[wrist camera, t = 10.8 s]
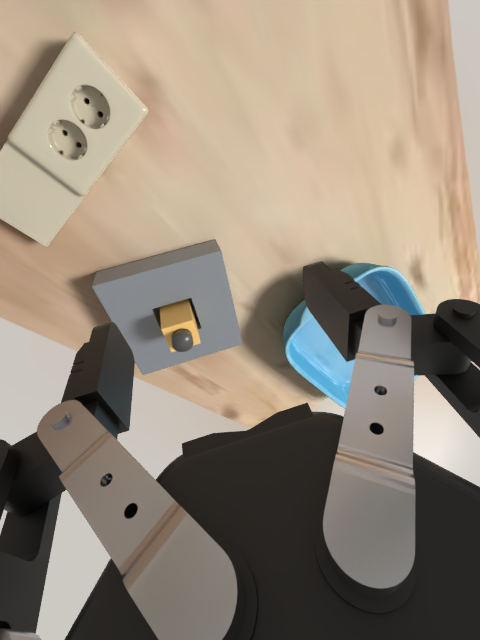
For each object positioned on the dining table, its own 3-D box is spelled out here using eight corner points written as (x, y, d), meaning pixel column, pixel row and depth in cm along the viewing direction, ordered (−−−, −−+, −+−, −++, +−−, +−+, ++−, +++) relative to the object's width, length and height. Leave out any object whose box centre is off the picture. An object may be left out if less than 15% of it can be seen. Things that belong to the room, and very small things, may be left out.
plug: (186, 292, 42) (194, 327, 35) (194, 314, 44) (202, 350, 37) (159, 300, 41) (161, 336, 35) (168, 321, 44) (172, 360, 37)
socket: (215, 239, 39) (221, 250, 36) (236, 328, 49) (242, 343, 46) (96, 271, 38) (91, 286, 35) (143, 357, 48) (142, 375, 44)
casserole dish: (425, 339, 65) (452, 361, 59) (343, 398, 70) (361, 423, 64) (357, 221, 44) (388, 238, 38) (247, 318, 49) (260, 345, 43)
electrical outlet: (-36, 202, 27) (73, 27, 23) (-16, 192, 31) (82, 37, 26) (44, 250, 32) (149, 110, 27) (53, 237, 35) (149, 110, 30)
